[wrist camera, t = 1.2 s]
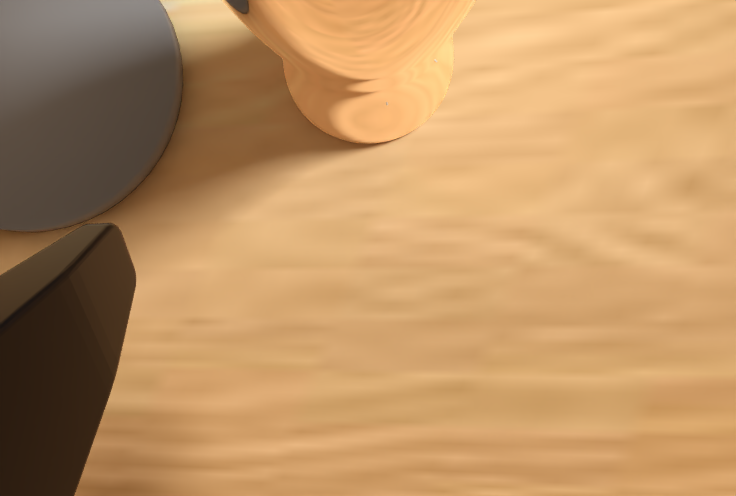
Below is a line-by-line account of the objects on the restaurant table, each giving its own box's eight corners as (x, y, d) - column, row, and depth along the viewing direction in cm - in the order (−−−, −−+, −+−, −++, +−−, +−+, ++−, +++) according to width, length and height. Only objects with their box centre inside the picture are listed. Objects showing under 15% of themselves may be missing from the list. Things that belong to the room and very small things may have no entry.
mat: (-28, 287, 23) (-43, 286, 22) (-156, 32, 24) (-176, 23, 23) (236, 137, 23) (230, 131, 22) (97, -113, 24) (87, -127, 23)
